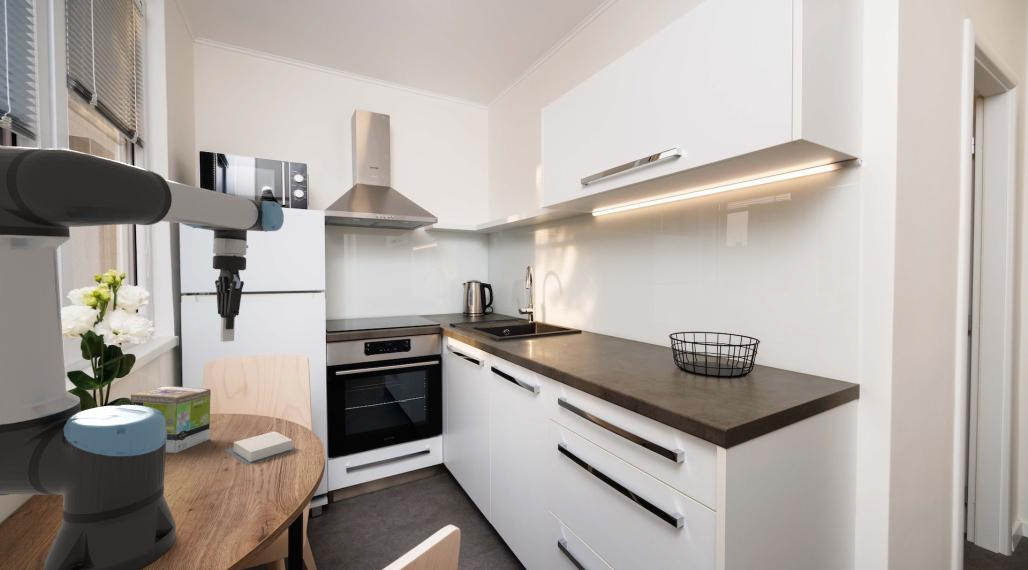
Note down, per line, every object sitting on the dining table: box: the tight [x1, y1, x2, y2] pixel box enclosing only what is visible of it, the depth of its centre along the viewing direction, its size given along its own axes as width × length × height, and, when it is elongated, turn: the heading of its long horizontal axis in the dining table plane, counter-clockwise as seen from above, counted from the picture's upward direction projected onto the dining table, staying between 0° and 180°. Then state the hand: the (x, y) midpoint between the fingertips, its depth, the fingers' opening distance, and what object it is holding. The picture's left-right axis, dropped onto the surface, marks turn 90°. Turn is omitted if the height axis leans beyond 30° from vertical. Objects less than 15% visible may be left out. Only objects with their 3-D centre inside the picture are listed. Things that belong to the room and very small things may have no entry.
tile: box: [233, 431, 294, 462], centre depth 104 cm, size 10×3×10 cm
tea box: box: [130, 385, 212, 454], centre depth 108 cm, size 15×10×15 cm
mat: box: [223, 446, 298, 466], centre depth 105 cm, size 12×14×1 cm
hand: (227, 340), depth 110 cm, fingers closed
